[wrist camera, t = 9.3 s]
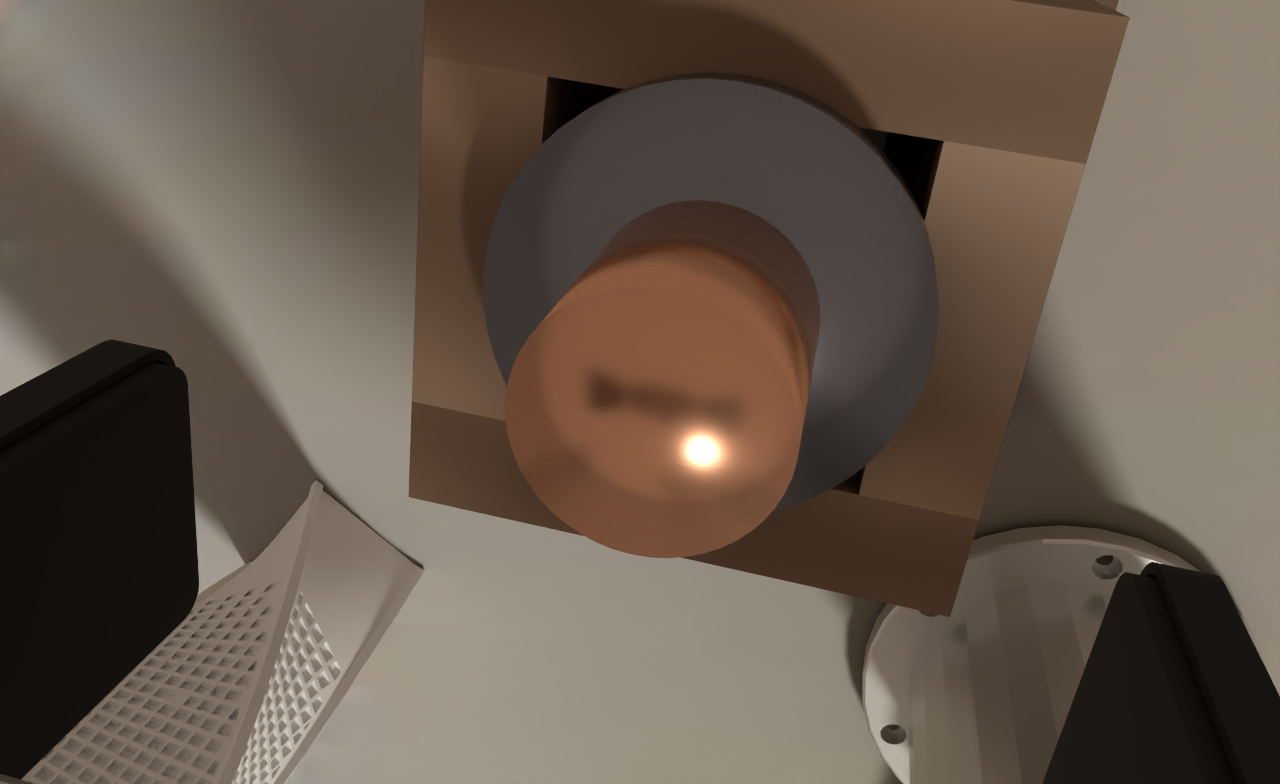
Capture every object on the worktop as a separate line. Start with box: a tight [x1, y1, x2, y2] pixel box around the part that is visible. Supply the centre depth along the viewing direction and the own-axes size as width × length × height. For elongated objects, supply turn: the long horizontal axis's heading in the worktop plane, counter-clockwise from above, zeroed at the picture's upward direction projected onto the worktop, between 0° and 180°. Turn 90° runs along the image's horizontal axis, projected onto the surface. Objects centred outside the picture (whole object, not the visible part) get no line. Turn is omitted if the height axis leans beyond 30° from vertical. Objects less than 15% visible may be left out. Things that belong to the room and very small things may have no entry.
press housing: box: [409, 0, 1130, 617], centre depth 24 cm, size 16×15×16 cm
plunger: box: [483, 72, 939, 558], centre depth 21 cm, size 7×7×18 cm
